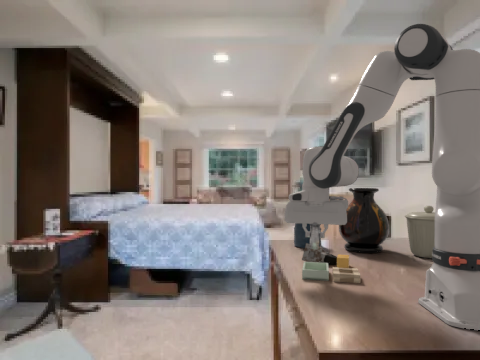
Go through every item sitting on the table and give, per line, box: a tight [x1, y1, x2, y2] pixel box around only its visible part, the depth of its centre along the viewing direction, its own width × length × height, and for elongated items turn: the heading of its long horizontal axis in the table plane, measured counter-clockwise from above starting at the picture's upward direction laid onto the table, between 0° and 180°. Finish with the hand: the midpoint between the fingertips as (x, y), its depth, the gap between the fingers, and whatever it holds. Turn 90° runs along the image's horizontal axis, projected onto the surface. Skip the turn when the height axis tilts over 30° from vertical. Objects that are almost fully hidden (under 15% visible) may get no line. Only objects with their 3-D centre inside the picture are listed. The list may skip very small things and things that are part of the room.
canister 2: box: [404, 205, 435, 259], centre depth 146 cm, size 18×18×21 cm
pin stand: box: [332, 266, 361, 284], centre depth 112 cm, size 8×8×2 cm
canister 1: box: [293, 223, 322, 249], centre depth 168 cm, size 13×13×18 cm
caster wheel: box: [301, 243, 337, 265], centre depth 134 cm, size 7×11×10 cm
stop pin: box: [310, 222, 322, 249], centre depth 116 cm, size 4×4×9 cm
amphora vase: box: [338, 187, 390, 254], centre depth 158 cm, size 22×22×28 cm
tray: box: [301, 261, 330, 282], centre depth 116 cm, size 11×8×3 cm
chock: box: [336, 253, 350, 268], centre depth 127 cm, size 6×4×4 cm, turn 160°
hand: (315, 237), depth 116 cm, fingers closed on stop pin, 3 cm apart
